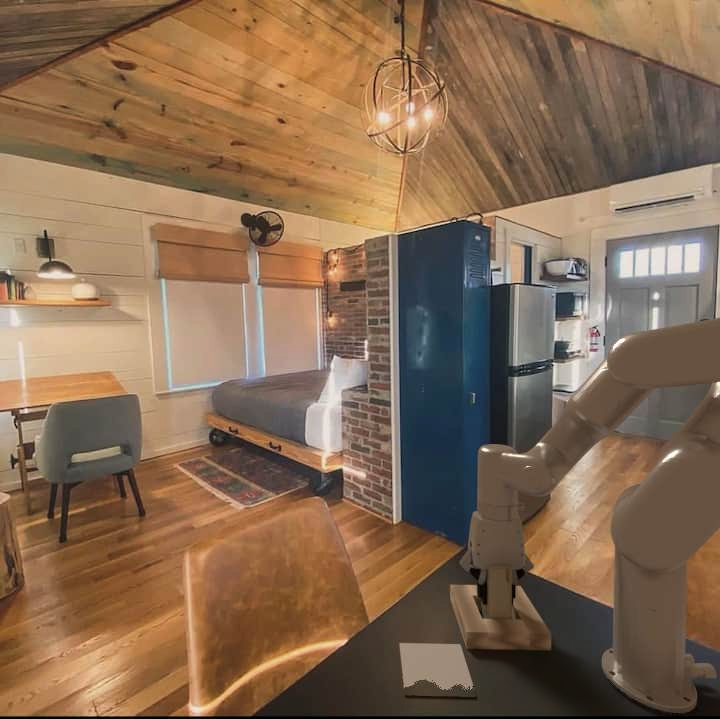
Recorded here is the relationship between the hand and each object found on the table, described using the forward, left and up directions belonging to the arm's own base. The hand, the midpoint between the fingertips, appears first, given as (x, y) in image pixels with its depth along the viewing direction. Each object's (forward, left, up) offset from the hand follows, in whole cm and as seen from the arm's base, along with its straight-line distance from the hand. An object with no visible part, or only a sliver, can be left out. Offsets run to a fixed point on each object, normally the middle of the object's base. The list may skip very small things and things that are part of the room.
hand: (495, 599), depth 81 cm
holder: (0, 0, -4) cm, 4 cm away
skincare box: (0, 0, -5) cm, 5 cm away
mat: (+14, +13, -4) cm, 19 cm away
